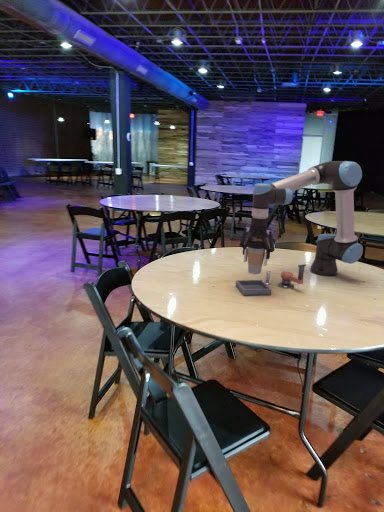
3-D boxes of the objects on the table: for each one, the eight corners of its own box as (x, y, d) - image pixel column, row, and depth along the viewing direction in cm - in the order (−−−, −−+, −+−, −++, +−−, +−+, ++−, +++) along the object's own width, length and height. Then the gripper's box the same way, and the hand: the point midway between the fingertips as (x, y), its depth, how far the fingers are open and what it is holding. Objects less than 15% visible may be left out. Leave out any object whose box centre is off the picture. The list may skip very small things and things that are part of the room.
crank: (278, 276, 178) (280, 259, 175) (286, 275, 180) (288, 258, 178) (297, 284, 166) (299, 266, 164) (305, 283, 169) (308, 264, 167)
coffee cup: (264, 276, 161) (267, 245, 157) (243, 274, 162) (246, 243, 159) (264, 270, 170) (267, 241, 166) (245, 268, 171) (247, 239, 167)
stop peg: (269, 282, 182) (270, 270, 180) (272, 284, 178) (273, 272, 176) (262, 282, 181) (263, 270, 179) (264, 284, 177) (266, 272, 176)
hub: (289, 282, 182) (290, 275, 181) (296, 288, 174) (297, 280, 173) (275, 283, 181) (276, 275, 180) (281, 288, 173) (282, 281, 172)
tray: (261, 285, 176) (261, 280, 175) (270, 295, 163) (271, 289, 163) (235, 285, 174) (236, 280, 173) (243, 296, 161) (244, 290, 160)
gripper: (234, 215, 161) (231, 261, 167) (280, 221, 151) (274, 269, 156) (240, 213, 168) (237, 257, 173) (285, 219, 157) (279, 265, 163)
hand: (255, 263), depth 165 cm, fingers closed on coffee cup, 9 cm apart
